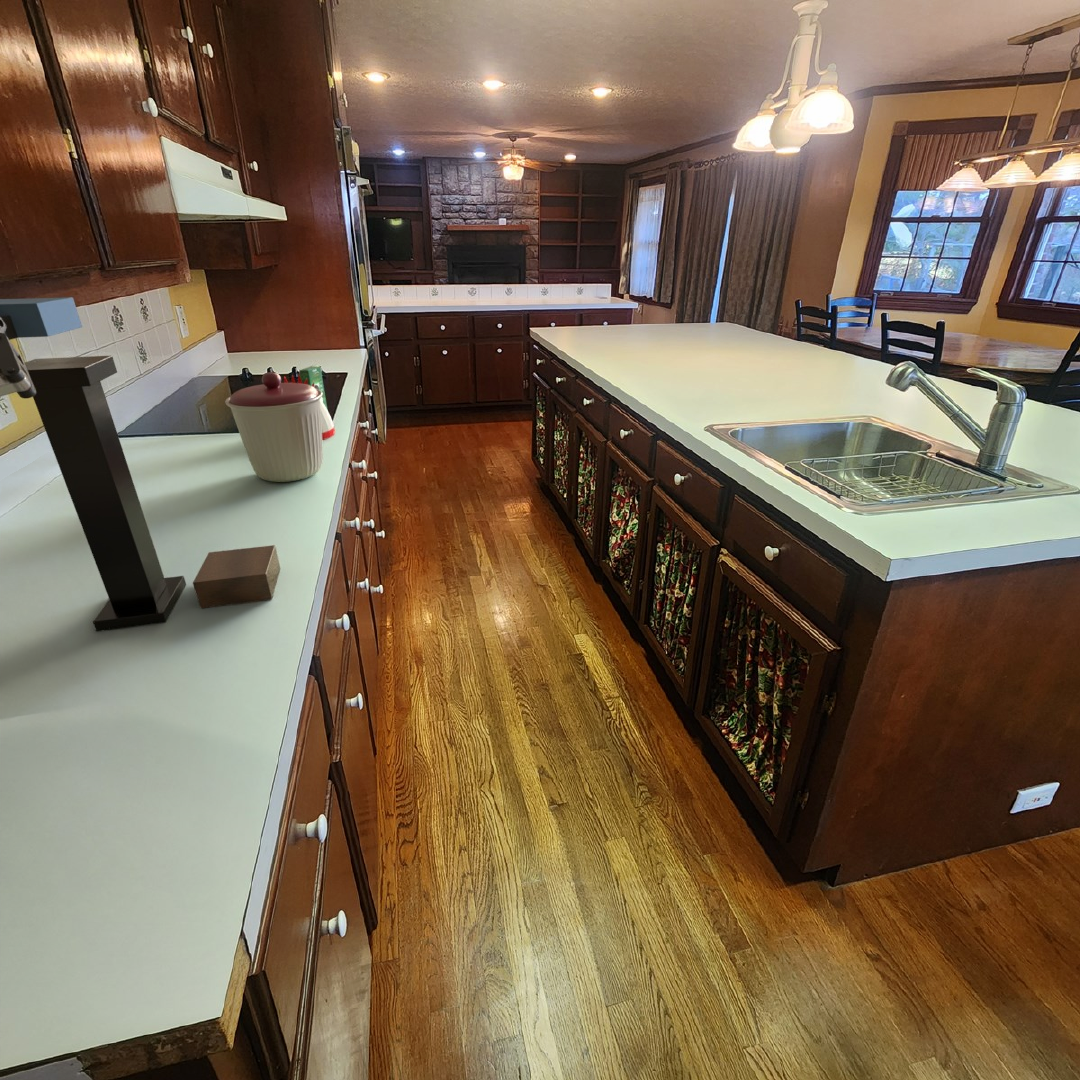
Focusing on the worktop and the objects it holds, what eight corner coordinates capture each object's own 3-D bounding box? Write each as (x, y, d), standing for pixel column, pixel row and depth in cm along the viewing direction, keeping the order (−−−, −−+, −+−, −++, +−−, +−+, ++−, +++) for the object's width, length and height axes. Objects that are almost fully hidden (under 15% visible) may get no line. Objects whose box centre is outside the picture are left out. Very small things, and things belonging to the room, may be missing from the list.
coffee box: (319, 410, 176) (311, 364, 171) (328, 410, 176) (321, 364, 170) (306, 417, 169) (297, 370, 163) (316, 418, 169) (307, 370, 163)
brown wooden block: (200, 608, 81) (192, 582, 79) (215, 576, 89) (208, 552, 87) (272, 599, 83) (265, 574, 81) (280, 568, 91) (275, 544, 89)
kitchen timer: (277, 431, 157) (264, 372, 151) (332, 425, 162) (322, 367, 156) (278, 445, 146) (265, 383, 139) (337, 438, 151) (327, 377, 144)
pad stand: (96, 631, 76) (-8, 373, 62) (124, 592, 85) (38, 357, 71) (166, 622, 78) (80, 369, 64) (186, 584, 87) (115, 354, 73)
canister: (285, 457, 138) (266, 362, 129) (352, 465, 133) (337, 366, 124) (223, 483, 123) (197, 378, 114) (297, 494, 118) (275, 384, 108)
